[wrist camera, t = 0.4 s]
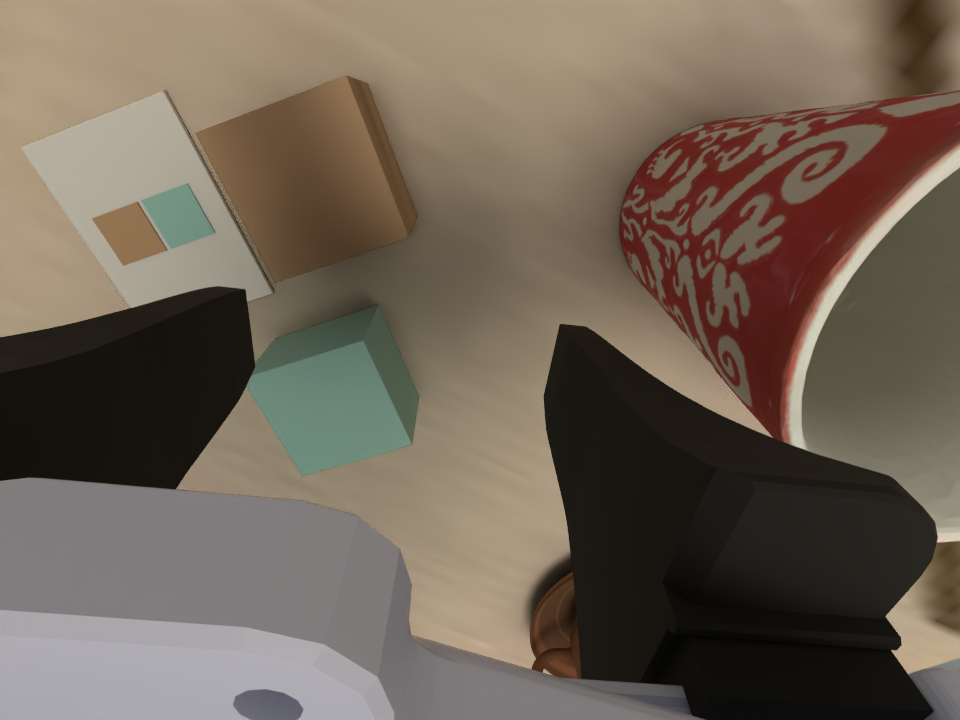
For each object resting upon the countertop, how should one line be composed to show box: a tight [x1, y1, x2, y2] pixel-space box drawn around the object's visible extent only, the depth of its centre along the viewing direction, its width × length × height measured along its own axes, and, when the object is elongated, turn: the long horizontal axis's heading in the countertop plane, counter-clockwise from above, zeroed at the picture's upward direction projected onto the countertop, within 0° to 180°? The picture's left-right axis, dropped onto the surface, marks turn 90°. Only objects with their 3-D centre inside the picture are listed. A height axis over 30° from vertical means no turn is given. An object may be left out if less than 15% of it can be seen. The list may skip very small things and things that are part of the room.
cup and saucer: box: [530, 571, 581, 679], centre depth 29 cm, size 12×12×6 cm
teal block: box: [247, 305, 419, 476], centre depth 21 cm, size 5×5×4 cm
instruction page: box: [20, 91, 274, 308], centre depth 20 cm, size 6×8×1 cm
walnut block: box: [195, 76, 417, 283], centre depth 18 cm, size 5×5×4 cm
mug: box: [620, 90, 960, 543], centre depth 15 cm, size 13×9×14 cm
